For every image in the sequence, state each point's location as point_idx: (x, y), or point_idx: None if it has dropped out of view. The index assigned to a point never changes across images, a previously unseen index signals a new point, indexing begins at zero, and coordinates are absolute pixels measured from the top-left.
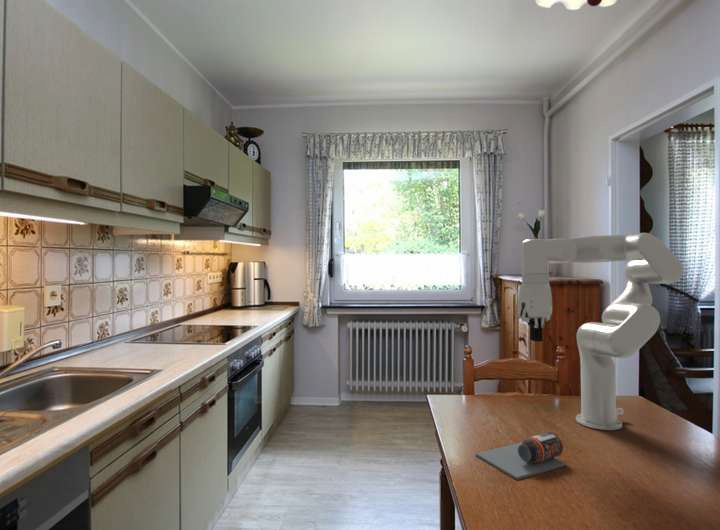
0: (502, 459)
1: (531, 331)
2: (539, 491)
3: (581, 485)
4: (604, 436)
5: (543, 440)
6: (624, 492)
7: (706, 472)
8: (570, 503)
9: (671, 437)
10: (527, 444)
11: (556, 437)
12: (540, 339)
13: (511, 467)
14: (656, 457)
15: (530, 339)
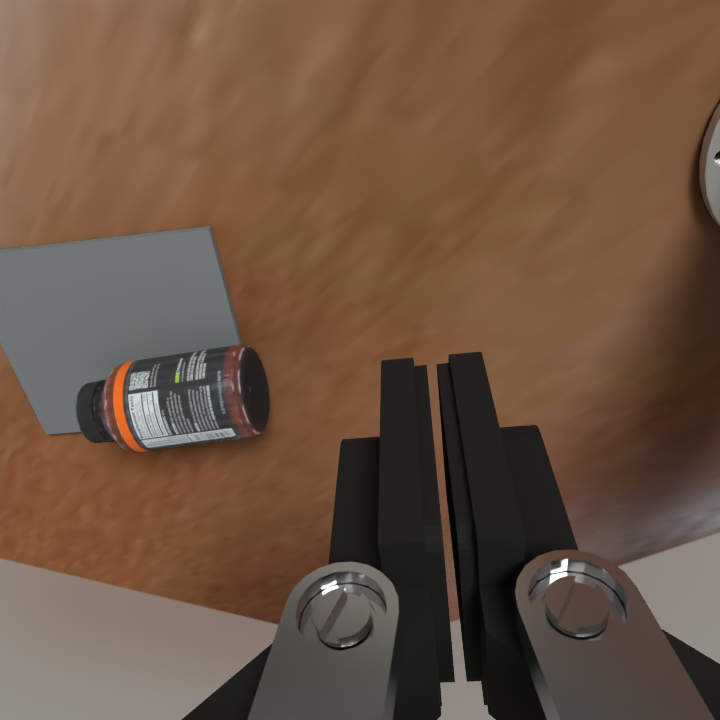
0: (50, 331)
1: (338, 539)
2: (86, 485)
3: (222, 498)
4: (648, 279)
5: (165, 445)
6: (305, 546)
7: (628, 552)
8: (134, 538)
9: None
10: (96, 433)
11: (239, 436)
12: (448, 510)
13: (57, 385)
14: (611, 462)
15: (382, 364)
